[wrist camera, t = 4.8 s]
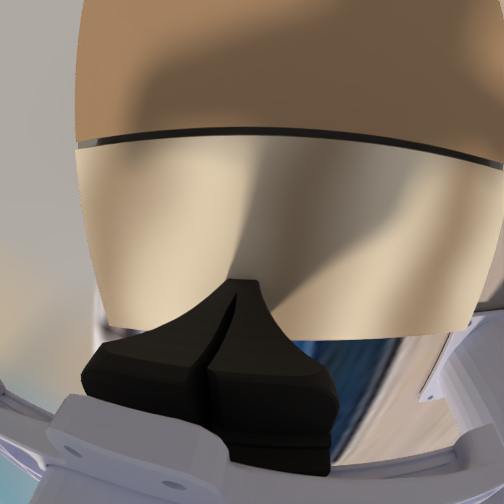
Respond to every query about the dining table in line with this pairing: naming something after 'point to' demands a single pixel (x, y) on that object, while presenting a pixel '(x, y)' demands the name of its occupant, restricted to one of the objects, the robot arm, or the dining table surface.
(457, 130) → the floor base
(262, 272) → the ash plank
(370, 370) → the dining table surface
